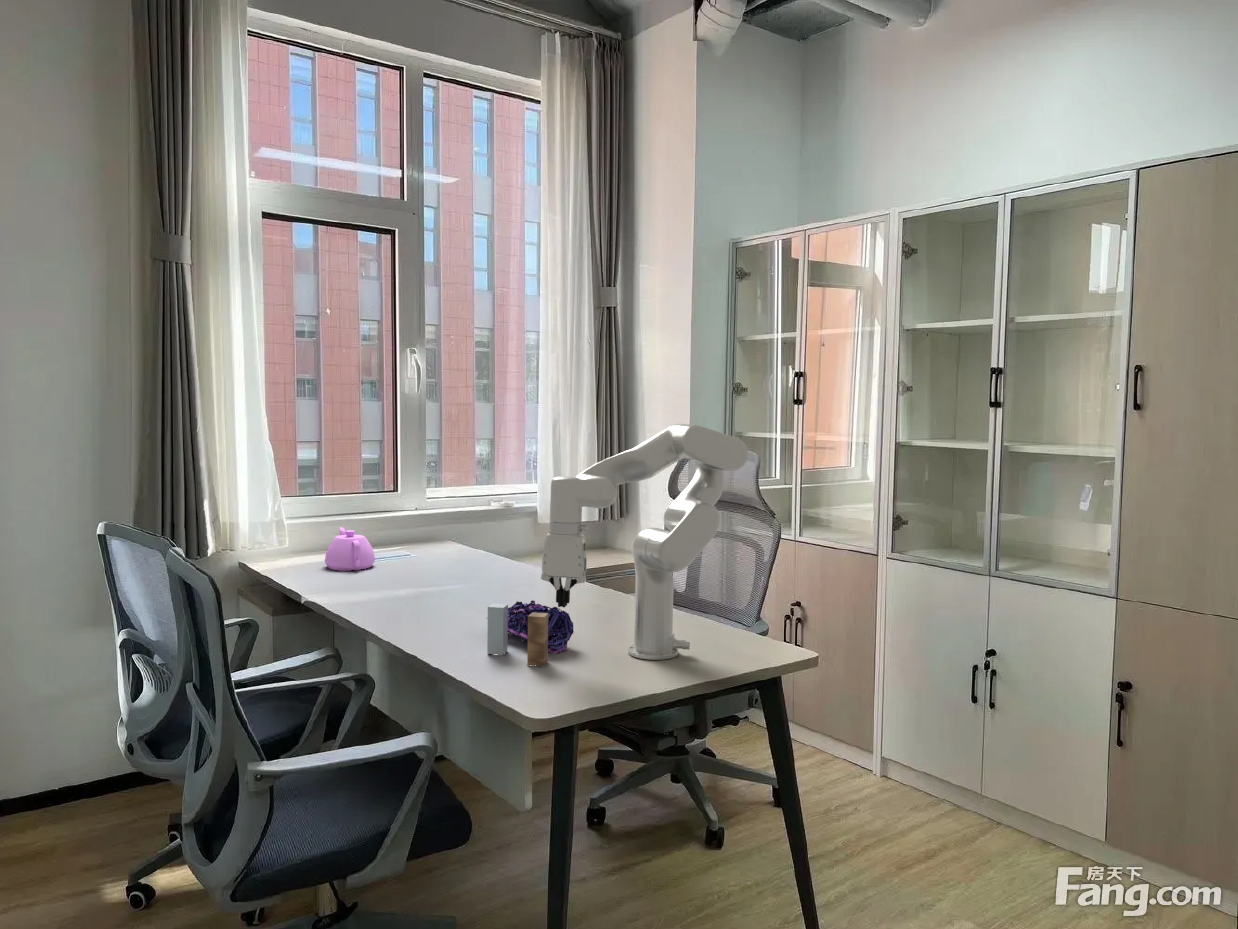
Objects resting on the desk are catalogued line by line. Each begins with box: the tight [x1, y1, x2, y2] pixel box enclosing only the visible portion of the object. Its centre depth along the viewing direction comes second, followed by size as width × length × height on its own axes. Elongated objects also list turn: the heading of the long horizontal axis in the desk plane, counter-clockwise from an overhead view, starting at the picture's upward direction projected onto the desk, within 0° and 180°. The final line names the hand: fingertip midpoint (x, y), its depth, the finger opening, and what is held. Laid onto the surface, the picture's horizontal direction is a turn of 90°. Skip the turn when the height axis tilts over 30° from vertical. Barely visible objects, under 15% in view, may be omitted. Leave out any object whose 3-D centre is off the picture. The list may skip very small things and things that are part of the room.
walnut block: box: [526, 612, 549, 667], centre depth 219 cm, size 4×4×12 cm
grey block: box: [486, 603, 509, 656], centre depth 228 cm, size 4×4×12 cm
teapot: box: [324, 526, 376, 572], centre depth 338 cm, size 25×18×14 cm
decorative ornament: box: [486, 600, 575, 654], centre depth 240 cm, size 13×11×30 cm
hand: (562, 605), depth 217 cm, fingers closed
